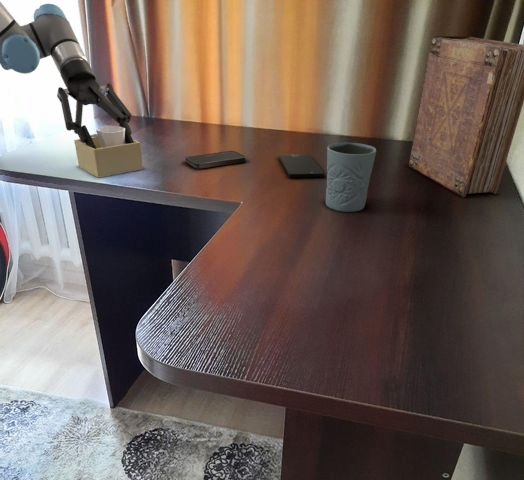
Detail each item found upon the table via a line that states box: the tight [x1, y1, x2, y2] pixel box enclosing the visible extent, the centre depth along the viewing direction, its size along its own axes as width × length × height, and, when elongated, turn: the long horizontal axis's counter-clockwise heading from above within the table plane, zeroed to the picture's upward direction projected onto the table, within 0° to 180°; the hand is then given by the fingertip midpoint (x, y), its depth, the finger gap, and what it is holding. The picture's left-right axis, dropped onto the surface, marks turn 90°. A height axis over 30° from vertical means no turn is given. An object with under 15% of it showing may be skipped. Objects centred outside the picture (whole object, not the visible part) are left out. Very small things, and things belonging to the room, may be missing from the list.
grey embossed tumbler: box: [325, 142, 377, 213], centre depth 108 cm, size 10×10×12 cm
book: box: [408, 35, 524, 198], centre depth 119 cm, size 25×9×30 cm, turn 16°
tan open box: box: [73, 137, 144, 178], centre depth 127 cm, size 12×11×6 cm
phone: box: [185, 150, 247, 169], centre depth 135 cm, size 8×1×15 cm
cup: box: [90, 125, 125, 148], centre depth 126 cm, size 7×10×8 cm
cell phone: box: [278, 153, 325, 179], centre depth 133 cm, size 9×18×1 cm, turn 7°
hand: (113, 149), depth 124 cm, fingers closed on cup, 9 cm apart
